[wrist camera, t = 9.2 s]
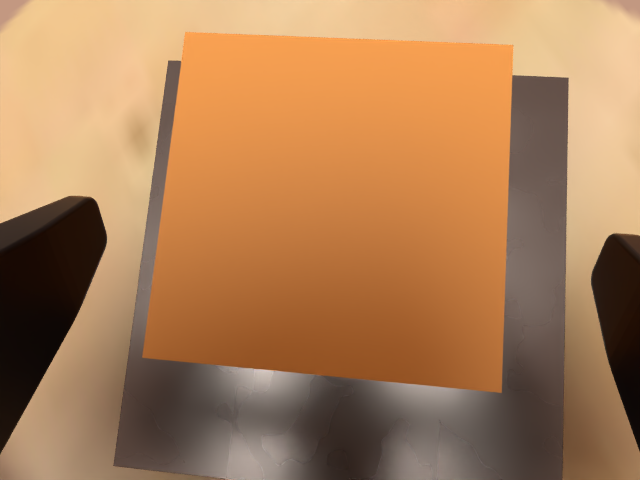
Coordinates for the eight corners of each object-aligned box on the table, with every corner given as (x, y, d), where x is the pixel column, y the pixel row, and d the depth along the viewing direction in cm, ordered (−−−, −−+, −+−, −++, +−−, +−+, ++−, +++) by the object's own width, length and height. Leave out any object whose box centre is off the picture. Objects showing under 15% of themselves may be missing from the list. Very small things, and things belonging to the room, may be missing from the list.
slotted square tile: (528, 485, 15) (561, 517, 13) (150, 442, 16) (113, 465, 14) (537, 112, 17) (568, 77, 14) (194, 95, 18) (168, 60, 16)
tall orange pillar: (405, 340, 16) (501, 392, 5) (283, 328, 17) (141, 358, 6) (412, 219, 17) (513, 44, 6) (294, 210, 17) (185, 32, 6)
